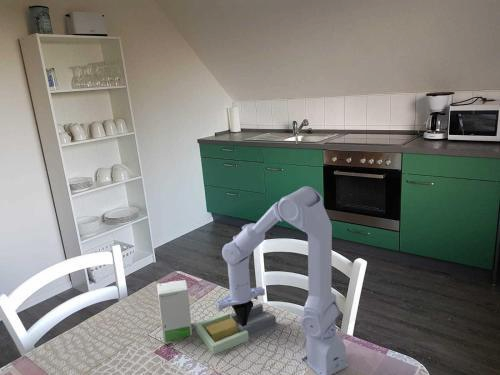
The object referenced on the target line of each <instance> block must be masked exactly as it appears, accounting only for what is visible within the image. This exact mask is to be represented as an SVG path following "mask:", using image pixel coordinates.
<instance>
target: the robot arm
mask: <svg viewBox="0 0 500 375" xmlns="http://www.w3.org/2000/svg"><path fill="white" fill-rule="evenodd" d="M323 202H324V199H323V196H322V195H321V194H320V192H318V191H317V190H315V188H313V187H312V186H307V185H305V186H302V187H300V188H299V189H298V190H295V191H293V192H292V193H290V194H287V195H285V196H283V197H281V198H280V200H278V201H276V202H275V203H274V204H272V206H270V208H268V210H267V211H266V212H265V213H264V214H263V215H262V216H261V217H260V219H258V220H257V222H256V223H253V222H252V223H246V224H244V225H243V226H242V227H241V230H242V231H240V232H239V233H238V234H236V235H234V236H233V237H232V239H233V240H232V241H230V242H229V243H228V242H227V243H226V244H224V245H223V247H222V250H221V255H222V258H223V260H224V261H225V262H226V264H227V272H228V275H227V276H228V282H229V283H228V284H229V294H228V295H226V296H225V297H223V298H222V299H220V300H218V301H215V306H216V307H215V309H216V310H217V311H218V312H222V311H223V310H224V309H226V308H228V307H232V309H233V311H234V313H236V315H237V317H238V320H239V324H240V325H241V326H242V327H243V326H245V325H247V321H248V316H249V313H250V311H251V309H252V307H253V306H254V302H253V301H252V300H253V299H255V298H256V297H259V296H262V297H263V296H265V295H266V293H265V291H266V290H265V288H264V287H262V286H257V287H251V278H250V268H249V267H250V266H249V265H250V264H249V262H250V256H251V255H252V253H253V251H255V250H256V248H257V247H258V246H260V245H261V244H262V243H263V242H264V241H265V238H266V233H267V231H269V230H270V229H271V228H272V227H273V226H274V225H275V224H277V223H278V222H279V221H280V222H284V221H285V222H287V223H288V224H290V225H291V226H293V227H295V228H296V229H298V230H300V231H301V232H304V233H305V234H306V235H307V266H308V267H307V268H308V270H307V271H308V272H307V273H308V275H307V277H308V278H307V279H308V296H307V299H306V301H305V303H304V306H303V314H302V316H301V317H300V326H301V329H302V330H303V332H304V333H305V335H306V336H305V339H306V356H305V357H303V358H301V360H302V361H303V362H304V363H305V364H306V365H307V366H309V368H311V369H312V370H313V371H314V373H316V374H317V375H334V374H336V373H337V372H340V371H342V370H344V369H345V368H347V367H349V364H348V363H347V362H346V345H345V343H344V341H343V340H342V339H341V338H340V337H339V335H338V333H337V327H336V319H338V318H339V316H340V309H341V308H340V306H339V304H338V302H337V295H336V294H335V293H334V292H332V270H333V269H332V265H333V264H332V258H333V257H332V254H333V253H332V252H333V251H332V249H333V247H332V244H333V241H332V240H333V238H332V236H333V233H332V231H333V226H332V225H333V224H332V222H331V220H330V217H329V215H328V213H327V211H326V208H325V206H324V203H323Z"/></svg>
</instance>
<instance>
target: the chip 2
mask: <svg viewBox="0 0 500 375" xmlns="http://www.w3.org/2000/svg"><path fill="white" fill-rule="evenodd" d="M219 323H220V324H221V325H222V327H223V328H224V329H225V335H226V338H227V337H230V336H232V335H235V334H237V333H240V330H239V327H238V324H237V323H236V322H235V321H234V320H233V319H232V318H230V319H227V320H225V321H222V322H219Z"/></svg>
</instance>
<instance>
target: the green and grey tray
mask: <svg viewBox="0 0 500 375" xmlns="http://www.w3.org/2000/svg"><path fill="white" fill-rule="evenodd" d="M263 306H264V305H263V304H262V303H258V304H256V305H253V307H252V309H251V311H250V313H249V316H248V321H247V325H245V326H243V327H242V326H241V325H240V324H239V320H238V317H237V315H236V313H235V312H234V313H232V314H231V312H229V311H226V312H224V313H221V314H219V315H216V316H213V317H211V318H207V319H205V320H202V321H200V322H197V323H195V324H194V325H195V332H196V333H197V335H198V336H199V338H200V339H201V340H202V341H203V343H204V345H206V347H207V348H208V350H209V351H210V352H211V354H212V355H217V354H219V353H221V352H223V351H225V350H228V349H231V348H233V347H235V346H238V345H240V344H243V343H245V342H247V341H250V340H253V339H255V338H257V337H260V336H263V335H264V334H267V333H269V332H272V331H274V330H277V329H280V326H279V325H278V324H277V317H276V315H275V314H271V315H266V313H264V307H263ZM230 318H232V319H233V320H234V321H235V322H236V323H237V324H238V327H239V333H237V334H235V335H232V336H230V337H227V338H225V339H222V340H220V341H217V342H214V341H213V339H212V338H211V337H210V336H209V334H208V333H207V332H206V327H207V326H210V325H213V324H215V323H218V322H222V321H225V320H227V319H230Z"/></svg>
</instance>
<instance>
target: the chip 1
mask: <svg viewBox="0 0 500 375" xmlns="http://www.w3.org/2000/svg"><path fill="white" fill-rule="evenodd" d="M206 332H207V333H208V334H209V336H210V337H211V338H212V339H213V341H214V342H217V341H220V340H222V339H225V338H226V335H225V329H224V328H223V327H222V325H221V324H220V323H219V322H218V323H215V324H213V325H210V326H207V327H206Z"/></svg>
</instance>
